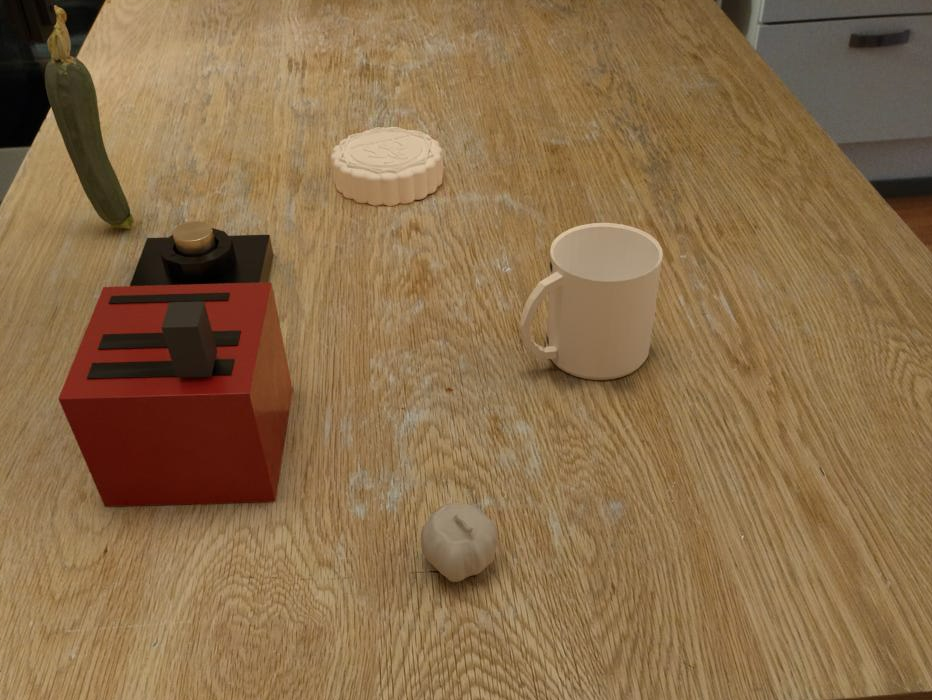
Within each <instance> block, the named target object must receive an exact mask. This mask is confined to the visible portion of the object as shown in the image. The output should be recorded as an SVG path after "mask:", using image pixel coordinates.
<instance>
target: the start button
mask: <svg viewBox="0 0 932 700" xmlns="http://www.w3.org/2000/svg"><path fill="white" fill-rule="evenodd" d="M212 228H213V227H212V225H211V224H209V223H207V222H205V221H199V220H198V221H188V222H184V223H181V224H179V225H177V226H176V227H174V229H173V231H172V235H173V238H174V242H175V245H176V249H177V252H178V254H179V255H181V256H185V257H199V256H203V255H206V254H209V253H211V252H212V251H213V250H215V249H216V243H215V239H214V235H213V230H212Z"/></svg>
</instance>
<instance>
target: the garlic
mask: <svg viewBox="0 0 932 700" xmlns="http://www.w3.org/2000/svg"><path fill="white" fill-rule="evenodd" d="M498 534H499V530H498V526H497V525H496V523H495V522H494V521H493V520H492V519H490V518H489V516H488V515H486V513H484V512H483V511H481V510H480V509H479V508H478V507H477V506H475V505H473V504H467V503H458V502H457V503H456V502H453V501H452V502H448V503H447V504H445V505H442V506H440V507H439V508H438V509H437V510H436V511H434V512H432V513H431V514H430V516H429V517H428V519H427V520H426V522H425V523H424V524H423V526H422V528H421V531H420V546H421V551H422V554H423V556H424V558H425V559H426V560H427V562H429V563H430V564H431V565H432V566H433V567H434V569H436V570H437V571H438V572H439V573H440V574H441V575H442V576H443V577H445V578H446V579H447V580H448V581H450V582H452V583H458V582H461V581H464V580H465V579H466V578H468V577H471V576H476V575H478V574H480V573H482V572H483V571H484V569H486V568H487V567H488V566H490V565H491V564H492V563H493V561H494V558H495V552H496V549H497V545H498V536H499V535H498Z"/></svg>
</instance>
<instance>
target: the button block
mask: <svg viewBox="0 0 932 700" xmlns="http://www.w3.org/2000/svg"><path fill="white" fill-rule="evenodd" d="M212 230H213V235H214V239H215V243H216V249H215V250H213V251H212V252H211V253H209V254H206V255H203V256H199V257H185V256H181V255H179V254H178V252H177V249H176V245H175V242H174V238H173V234H171V235H170V236H168V237H167V236H166V237H165V236H164V237H147V238H146V240H145V242H144V246H143V249H142V251H141V253H140V256H139V259H138V262H137V264H136V267H135V270H134V273H133V276H132V279H131V280H130V283H129V286H154V285H190V284H226V283H262V282H269V280H270V274H271V269H272V265H273V260H274V255H275V254H274V251H273V249H274V248H273V245H272V239H271V234H244V235H243V234H242V235H241V234H240V235H239V234H237V235H228V233H227V232H225V231H224V230H221V229H217V228H214V227H212Z"/></svg>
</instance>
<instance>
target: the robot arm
mask: <svg viewBox="0 0 932 700" xmlns="http://www.w3.org/2000/svg"><path fill="white" fill-rule="evenodd" d="M2 3H3V6H4V8H5V12H6V15H7V18H8V21H9V24H10V25H11V26H12V27H16V29H17V33H18V35H19V38H20V42H21V43H22V44H32V43H33V42H36V43H37V44H46V43H47V40H48V38H49V37H50V35H51V34H52V32H53V30H54V26H55V25H56V23H57V17H56V12H55V9H54V5H55V4H54V2H53V0H2Z"/></svg>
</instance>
